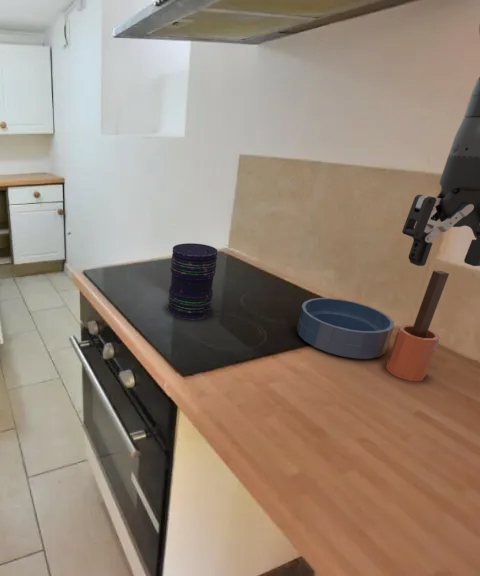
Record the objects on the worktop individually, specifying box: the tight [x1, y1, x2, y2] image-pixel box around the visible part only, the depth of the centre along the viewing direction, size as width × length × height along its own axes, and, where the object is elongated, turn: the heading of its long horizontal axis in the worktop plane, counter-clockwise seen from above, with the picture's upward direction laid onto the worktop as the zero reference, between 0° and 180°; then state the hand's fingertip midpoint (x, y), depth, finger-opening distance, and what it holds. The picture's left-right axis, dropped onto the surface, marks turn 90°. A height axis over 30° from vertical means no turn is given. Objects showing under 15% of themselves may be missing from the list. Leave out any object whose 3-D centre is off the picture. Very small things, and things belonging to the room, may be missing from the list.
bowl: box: [296, 297, 395, 360], centre depth 75 cm, size 15×15×6 cm
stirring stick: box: [411, 270, 450, 338], centre depth 62 cm, size 3×1×18 cm, turn 90°
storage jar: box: [167, 242, 219, 321], centre depth 86 cm, size 10×10×15 cm
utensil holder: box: [385, 324, 441, 382], centre depth 64 cm, size 5×5×8 cm
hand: (444, 264), depth 58 cm, fingers open, 8 cm apart
